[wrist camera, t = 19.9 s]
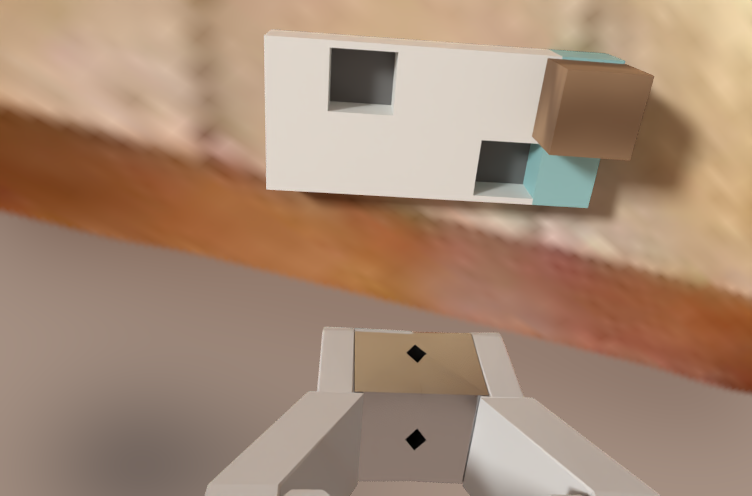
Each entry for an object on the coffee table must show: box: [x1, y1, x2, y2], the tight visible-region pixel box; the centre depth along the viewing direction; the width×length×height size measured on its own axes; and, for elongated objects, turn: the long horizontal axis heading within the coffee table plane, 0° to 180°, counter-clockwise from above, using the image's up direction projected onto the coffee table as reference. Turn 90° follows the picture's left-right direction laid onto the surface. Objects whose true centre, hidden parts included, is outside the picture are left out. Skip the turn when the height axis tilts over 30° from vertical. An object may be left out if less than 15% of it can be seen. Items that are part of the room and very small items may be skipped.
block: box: [532, 58, 654, 160], centre depth 28 cm, size 4×4×3 cm
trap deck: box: [264, 29, 625, 208], centre depth 32 cm, size 8×18×2 cm, turn 86°
